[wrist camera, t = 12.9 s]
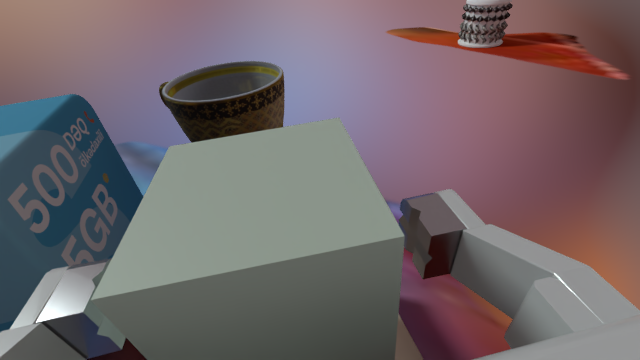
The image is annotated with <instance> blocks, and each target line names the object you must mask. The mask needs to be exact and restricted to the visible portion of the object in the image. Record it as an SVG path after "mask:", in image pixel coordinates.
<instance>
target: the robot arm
mask: <svg viewBox="0 0 640 360" xmlns="http://www.w3.org/2000/svg"><path fill="white" fill-rule="evenodd" d="M400 210H401V212H402V213H403V216H402V217H401V218H400V219H399V227H400V229H401V230H402V232H403V234H404V236H405V238H404V247H405V249H406V250H408V251H409V252H411V253H413V263H414V265H415V266H416V268H417V270H418V272H419V273H420V275H421V277H422V279H427V278H432V277H437V276H441V275H446V274H451V276H452V277H454V278H455V279H457V280H458V281H459V282H461V283H462V284H464V285H465V286H467V287H468V288H469V289H471V290H472V291H474V292H475V293H477V294H478V295H479V296H481V297H482V298H484V299H485V300H486V301H488V302H489V303H491V304H492V305H494V306H495V307H496V308H498V309H499V310H501V311H502V312H504V313H505V314H506V315H508V316H509V317H511V318H512V319H513V320H512V322H511V324H510V325H509V327H508V329H507V331H506V333H505V337H504V338H505V340H506V341H507V343H508V344H509V346H510V347H511V348H512V349H510V350H506V351H503V352H499V353H495V354H491V355H488V356H484V357H480V358H477V359H473V360H640V311H639V310H638V309H637V308H636V307H635V306H634V305H632V303H630V302H629V301H628V300H627V299H626V298H625V297H624V296H622V295H621V294H620V293H619V292H618V291H617V290H616V289H615V288H613V287H612V286H611V285H610V284H609V283H608V282H607V281H606V280H604V279H603V278H602V277H601V276H600V275H599V274H598V273H596V272H595V271H594V270H593V269H592V268H591V267H589V266H588V265H585V264H583V263H581V262H578V261H576V260H574V259H571V258H569V257H567V256H564V255H562V254H559V253H557V252H555V251H553V250H550V249H548V248H546V247H543V246H541V245H539V244H536V243H534V242H532V241H529V240H527V239H525V238H522V237H520V236H518V235H515V234H513V233H511V232H508V231H506V230H504V229H501V228H499V227H496V226H494V225H492V224H489V225H486V224H485V223H484V222H483V221H482V220H481V219H480V218H479V217H478V216H477V215H476V214H475V213H474V212H473V211H472V210H471V208H470V207H469V206H468V205H467V204H466V203H465V202H464V201H463V200H462V199H461V198H460V197H459V196H458V194H457V193H456V192H455V191H454V190H451V189H448V190H443V191H439V192H434V193H430V194H425V195H420V196H416V197H411V198H407V199H403V200H402V201H401V205H400ZM111 259H112V258H110V259H104V260H98V261H93V262H87V263H82V264H76V265H72V266H67V267H62V268H56V269H52V270H50V271H49V272H47V273H46V274H45V275H44V277H43V278H42V280H41V282H40V283H39V285H38V286H37V288H36V289H35V291H34V292H33V294H32V295H31V297H30V298H29V300H28V302H27V303H26V305H25V306H24V308H23V309H22V311H21V312H20V314H19V315H18V317H17V318H16V320H15V321H14V323H13V325H12V326H11V328H10V329H9V330H4V331H2V332H0V360H86V359H89V358H92V357H96V356H100V355H104V354H108V353H112V352H115V351H119V350H122V348H123V345H124V342H125V339H126V337H125V336H124V335H123V334H122V333H121V331H120V330H119V329H118V328H117V327H116V326H115V325H114V324H113V323H112V322H111V321H110V320H109V319H108V318H107V317H106V316H105V314H104V313H103V312H102V311H101V310H100V309H99V308H98V307H97V306H96V305H95V304H94V303H93V302H92V301H91V298H92V296H93V295H94V293H95V291H96V289H97V287H98V285H99V283H100V281H101V279H102V277H103V275H104V273H105V271H106V269H107V267H108V265H109V263H110V261H111Z"/></svg>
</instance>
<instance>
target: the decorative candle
mask: <svg viewBox="0 0 640 360" xmlns="http://www.w3.org/2000/svg"><path fill="white" fill-rule="evenodd" d="M510 2H511V0H467V1H466V3H467V4H466V5H465V6H464V7H463V9H464V10H465V11H466V13H464V14H463V15H462V18H463V19H464V20H465V21H464V22H463V23H461V25H460V28H461V31H460V32H459V37H460V38H461V39H459V40H458V44H459V45H461V46H465V47H471V48H489V47H496V46H499V45H501V44H502V42H503V41H502V40H501V38H503V36H504V35H505V32H504V31H503V30H504V29H505V28H506V27H507V26H508V25H507V23H506V22H505V19H506V18H508V17H509V16H510V14H509V13H508V12H507V10H509V9H510V8H512V4H511V3H510Z"/></svg>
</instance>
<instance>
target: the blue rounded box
mask: <svg viewBox="0 0 640 360" xmlns="http://www.w3.org/2000/svg"><path fill="white" fill-rule="evenodd" d="M142 199H143V195H142V194H141V192H140V190H139V188H138V187H137V185H136V183H135V181H134V180H133V178H132V176H131V174H130V173H129V171H128V169H127V167H126V166H125V164H124V162H123V160H122V158H121V157H120V155H119V153H118V151H117V150H116V148H115V146H114V144H113V143H112V141H111V139H110V137H109V136H108V134H107V132H106V130H105V129H104V127H103V125H102V123H101V122H100V120H99V118H98V116H97V115H96V113H95V111H94V109H93V108H92V106H91V105H90V104H89V103H88V102H87V101H86V100H85V99H84V98H83V97H81V96H79V95H75V94H70V95H64V96H58V97H52V98H47V99H40V100H34V101H28V102H22V103H16V104H10V105H4V106H0V332H2V331H4V330H9V329H10V328H11V326H12V325H13V323H14V321H15V320H16V318H17V317H18V315H19V314H20V312H21V311H22V309H23V308H24V306H25V305H26V303H27V302H28V300H29V298H30V297H31V295H32V294H33V292H34V291H35V289H36V288H37V286H38V285H39V283H40V282H41V280H42V278H43V277H44V275H45V274H46V273H47V272H49V271H50V270H52V269H56V268H62V267H67V266H72V265H76V264H82V263H87V262H93V261H98V260H104V259H110V258H113V256H114V254H115V252H116V250H117V248H118V246H119V244H120V242H121V240H122V238H123V236H124V234H125V232H126V230H127V228H128V226H129V224H130V222H131V220H132V219H133V217H134V215H135V213H136V211H137V209H138V207H139V205H140V203H141V201H142Z"/></svg>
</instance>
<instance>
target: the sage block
mask: <svg viewBox="0 0 640 360" xmlns="http://www.w3.org/2000/svg"><path fill="white" fill-rule="evenodd" d="M404 238H405V236H404V234H403V232H402V230H401V229H400V227H399V225H398V223H397V221H396V219H395V218H394V216H393V214H392V212H391V210H390V209H389V207H388V205H387V203H386V201H385V200H384V198H383V196H382V194H381V192H380V191H379V189H378V187H377V185H376V183H375V182H374V180H373V178H372V176H371V174H370V173H369V171H368V169H367V167H366V165H365V163H364V162H363V160H362V158H361V156H360V155H359V153H358V151H357V149H356V147H355V145H354V144H353V142H352V140H351V138H350V136H349V134H348V133H347V131H346V129H345V127H344V126H343V124H342V122H341V120H340V118H335V119H328V120H322V121H317V122H310V123H305V124H299V125H293V126H287V127H281V128H275V129H269V130H263V131H257V132H252V133H246V134H240V135H234V136H228V137H222V138H216V139H210V140H205V141H199V142H193V143H187V144H181V145H175V146H169V148H168V150H167V152H166V154H165V156H164V158H163V160H162V162H161V164H160V166H159V168H158V170H157V172H156V174H155V176H154V178H153V180H152V181H151V183H150V185H149V187H148V189H147V191H146V193H145V195H144V197H143V199H142V201H141V203H140V205H139V207H138V209H137V211H136V213H135V215H134V217H133V219H132V220H131V222H130V224H129V226H128V228H127V230H126V232H125V234H124V236H123V238H122V240H121V242H120V244H119V246H118V248H117V250H116V252H115V254H114V256H113V258H112V259H111V261H110V263H109V265H108V267H107V269H106V271H105V273H104V275H103V277H102V279H101V281H100V283H99V285H98V287H97V289H96V291H95V293H94V295H93V296H92V298H91V301H92V302H93V303H94V304H95V305H96V306H97V307H98V308H99V309H100V310H101V311H102V312H103V313H104V314H105V316H106V317H107V318H108V319H109V320H110V321H111V322H112V323H113V324H114V325H115V326H116V327H117V328H118V329H119V330H120V331H121V333H122V334H123V335H124V336H125V337H126V338H127V339H128V340H129V341H130V342H131V343H132V344H133V345H134V346H135V347H136V348H137V349H138V351H139V352H140V353H141V354H142V355H143V356H144V357H145V358H146V359H147V360H395V350H396V338H397V325H398V313H399V300H400V288H401V275H402V263H403V251H404Z"/></svg>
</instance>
